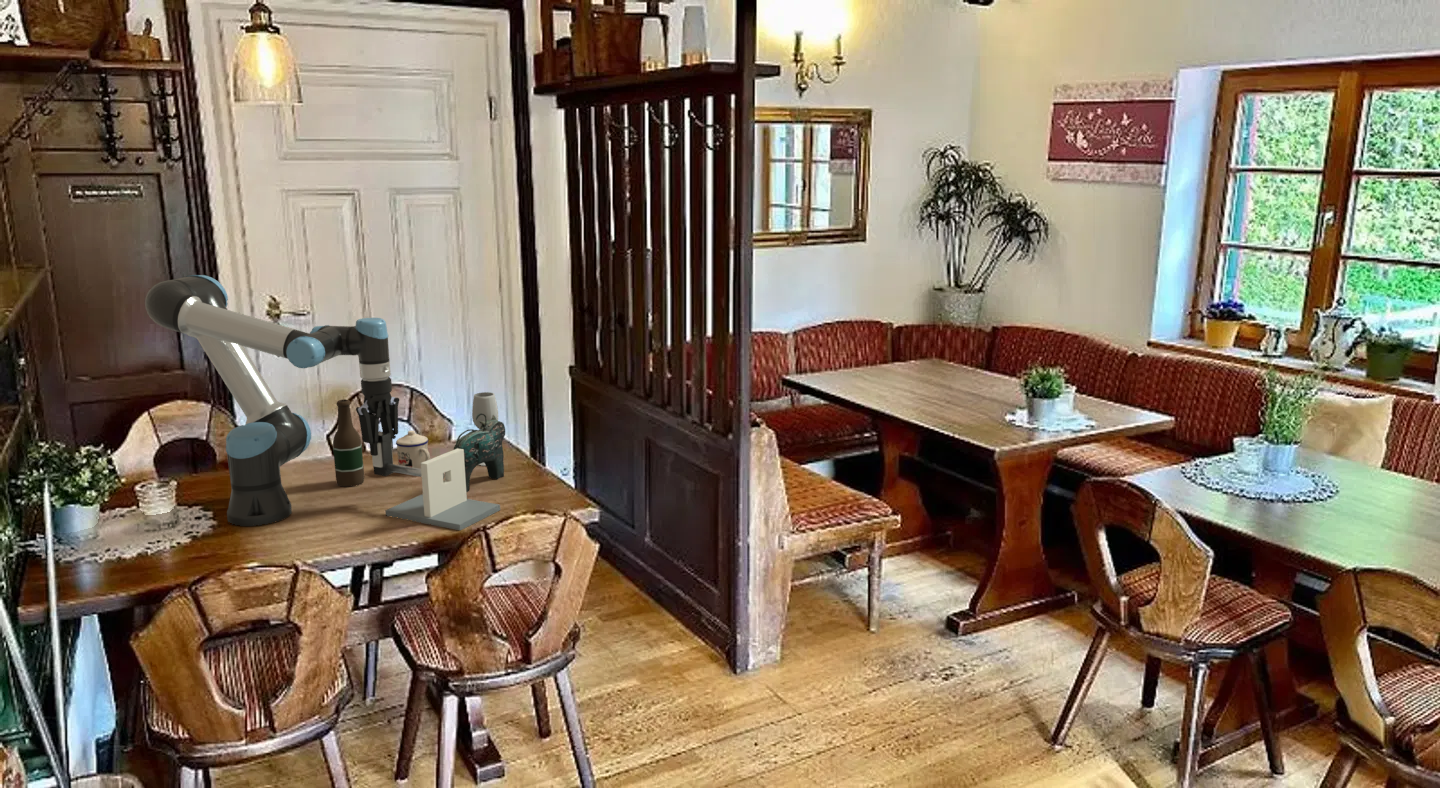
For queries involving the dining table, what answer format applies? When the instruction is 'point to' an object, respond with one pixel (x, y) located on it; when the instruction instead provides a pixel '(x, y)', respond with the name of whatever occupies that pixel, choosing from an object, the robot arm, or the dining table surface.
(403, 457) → the teacup with lid
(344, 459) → the beer bottle
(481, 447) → the green animal figurine
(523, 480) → the dining table surface
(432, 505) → the panel with square hole
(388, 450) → the hook rod
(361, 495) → the dining table surface
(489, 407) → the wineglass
